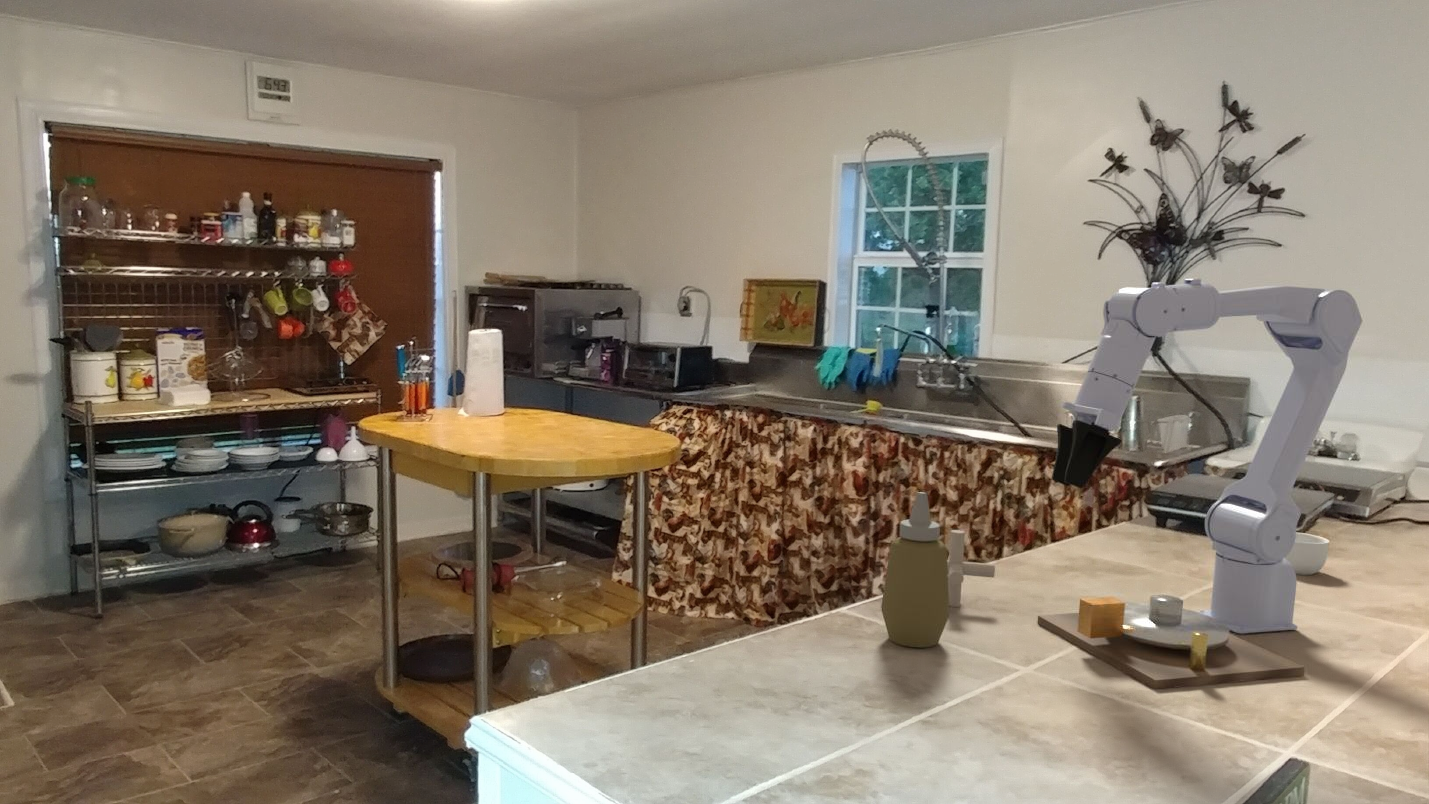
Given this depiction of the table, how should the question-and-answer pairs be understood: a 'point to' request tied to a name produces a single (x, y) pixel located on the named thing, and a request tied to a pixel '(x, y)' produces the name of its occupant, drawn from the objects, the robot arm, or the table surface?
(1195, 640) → the dowel
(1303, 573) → the teacup
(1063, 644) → the table surface
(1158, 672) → the flat brown board
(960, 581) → the pipe connector
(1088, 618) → the disc with block handle
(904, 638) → the squeeze bottle
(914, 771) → the table surface
